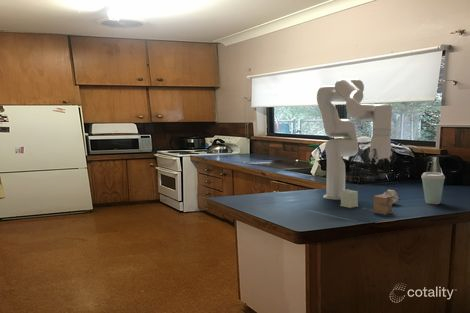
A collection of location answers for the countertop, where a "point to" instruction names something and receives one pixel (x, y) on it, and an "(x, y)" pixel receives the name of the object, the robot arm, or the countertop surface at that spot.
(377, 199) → the walnut block
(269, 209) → the countertop surface
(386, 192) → the cream knobbly ball
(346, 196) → the sage block
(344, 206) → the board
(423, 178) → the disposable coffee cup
